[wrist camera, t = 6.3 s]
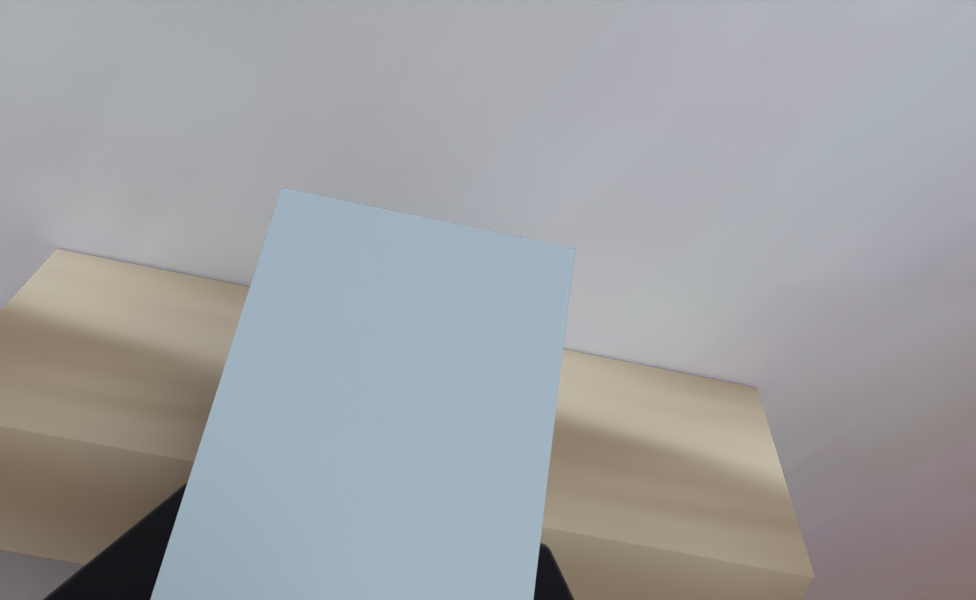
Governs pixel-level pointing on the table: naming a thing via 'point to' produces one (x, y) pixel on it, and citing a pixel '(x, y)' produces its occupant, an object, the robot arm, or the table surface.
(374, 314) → the pale blue plank
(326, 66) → the table surface
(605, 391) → the maple rail
